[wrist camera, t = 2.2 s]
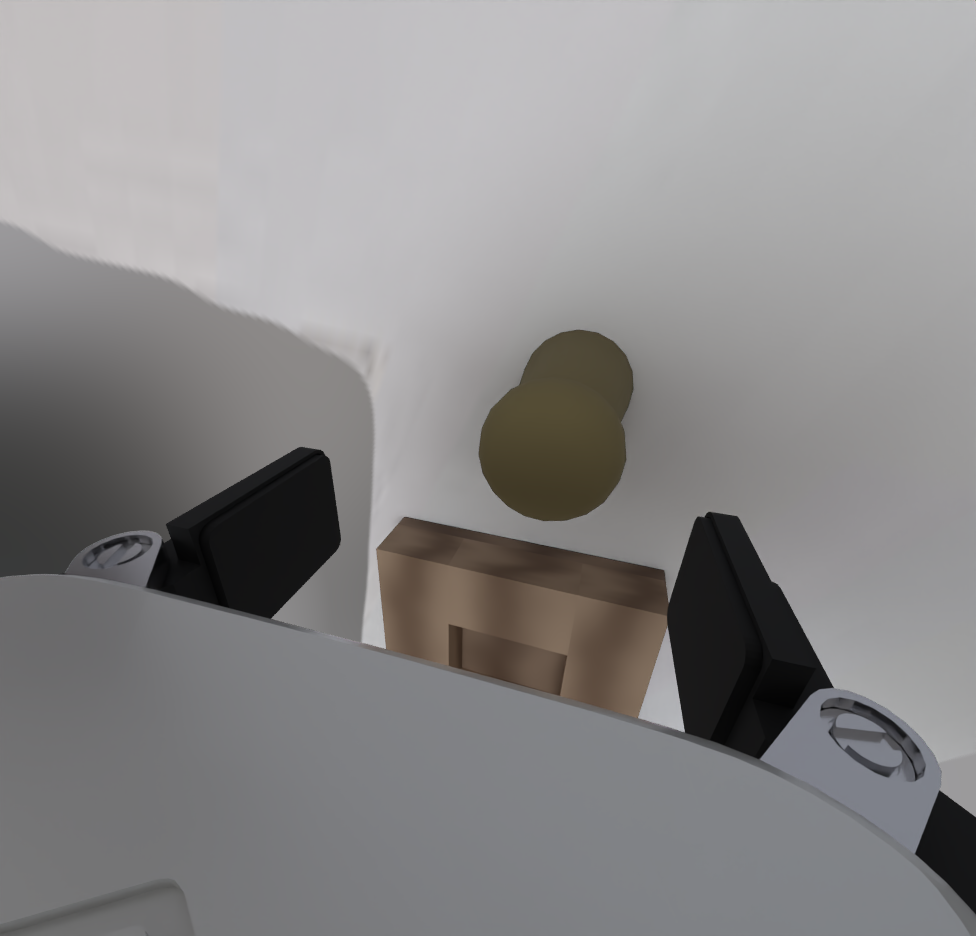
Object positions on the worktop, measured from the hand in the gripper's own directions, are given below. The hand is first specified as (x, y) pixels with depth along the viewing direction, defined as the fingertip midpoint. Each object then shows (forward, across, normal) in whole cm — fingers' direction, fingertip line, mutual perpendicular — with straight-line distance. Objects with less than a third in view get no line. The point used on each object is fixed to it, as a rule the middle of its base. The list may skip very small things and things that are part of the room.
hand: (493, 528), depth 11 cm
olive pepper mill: (+15, -1, 0) cm, 15 cm away
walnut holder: (+15, +1, +20) cm, 25 cm away
